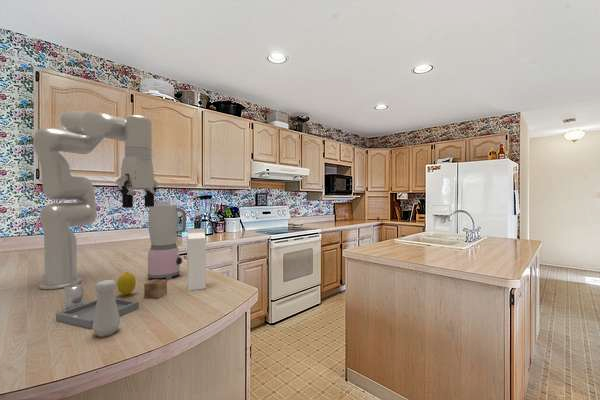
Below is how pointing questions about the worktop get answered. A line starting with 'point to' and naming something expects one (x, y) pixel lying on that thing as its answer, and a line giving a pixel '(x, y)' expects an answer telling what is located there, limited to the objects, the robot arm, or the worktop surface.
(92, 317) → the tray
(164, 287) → the walnut block
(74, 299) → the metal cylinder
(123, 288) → the lemon
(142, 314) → the worktop surface
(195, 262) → the milk
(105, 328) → the salt shaker
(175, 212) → the blender
